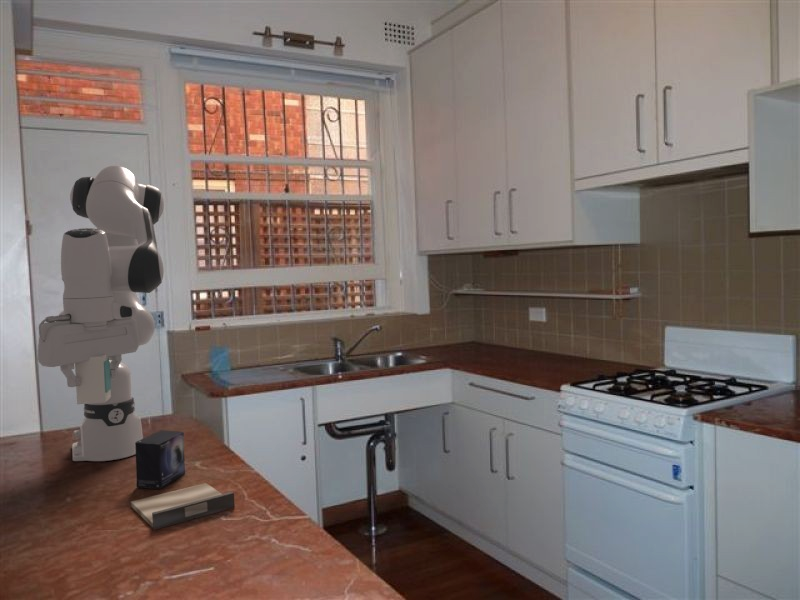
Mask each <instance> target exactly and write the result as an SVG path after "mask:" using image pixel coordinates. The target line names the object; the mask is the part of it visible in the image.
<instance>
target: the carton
mask: <svg viewBox="0 0 800 600" xmlns="http://www.w3.org/2000/svg"><path fill="white" fill-rule="evenodd" d="M74 372H75V373H74V374H75V376H76V377H80V381H79V382H80V386H76V388H75V389H76V404H77V405H84V404H90V403H105V402H106V401H107V400H108V399H109V398H110V397H111V375H110V359H109V357H106V354H105V355H100V356H94V357H90V359H89V360H88V361H84V362H78V363H74Z"/></svg>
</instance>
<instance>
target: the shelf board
mask: <svg viewBox="0 0 800 600" xmlns="http://www.w3.org/2000/svg"><path fill="white" fill-rule="evenodd" d="M130 507H131V508H132V510H134V511H135V512H136V513H137V514H138V515H139V516H140V517H141V518H142V519H143V520H144V521H145V522H146V523H147V524H148V525H149V526H150V527H151V528H152V530H159V529H162V528H166V527H169V526H173V525H177V524H181V523H184V522H188V521H191V520H194V518H195V519H198V518H201V517H205V516H208V515H211V514H216V513H219V511H220V512H223V511H227V510H230V509H234V508H235V492H233V491H229V492H225V493H221V492H220V491H218V490H217V489H216V488H214V487H213V486H211V485H210V484H208V483H207V482H204V483H200V484H196V485H192V486H189V487H184V488H180V489H179V488H178V489H177V490H172V491H167V492H164V493H160V494H156V495H152V496H148V497H144V498H140V499H135V500H132V501H130ZM187 520H188V521H187Z"/></svg>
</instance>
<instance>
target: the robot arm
mask: <svg viewBox="0 0 800 600" xmlns="http://www.w3.org/2000/svg"><path fill="white" fill-rule="evenodd" d="M69 197H70V198H69V200H70V203H71V207H72V210H73V212H74V213H75V214H76V215H77V216H79V217H82V218H84V219H89V221H90V222H91V223H92V225H93V226H94V227H95V228H92V227H91V228H78V229H76V228H75V229H70V230H68V231H66V232H64V233H63V235H62V240H61V251H60V271H61V272H60V273H61V280H62V282H63V286H64V288H63V294H62V305H63V310H62V311H61V312H60V313H59V314H58V315H55V316H54V315H52V316H50V315H48V316H46V317H45V319H43V320H41V322H40V323H39V324H38V335H39V336H38V346H37V347H38V348H37V360H38V361H37V362H38V363H39V364H40V365H41V366H42V367H46V368H47V367H48V368H56V367H60V371H61V372H62V374H63V375H64V376H65V378H66V383H67V387H68V388H75V387H76V386H80V382H79V381H80V377H76V374H75V373H74V370H75V363H78V362H84V361H88V360H89V359H90V357H94V356H100V355H105V354H106V357H109V359H110V375H111V397H110V398H109V399H108V400H107V401H106V402H105V403H90V404H83V416H84V418H83V420H82V421H81V424H80V429H76V430H73V440H79V439H80V441H76V442H73V443H72V446H71V454H72V455H71V456H72V461H73V462H85V461H88V462H106V461H113V460H120V459H124V458H128V457H131V456H134V455H136V449H135V442H137V441H139V440H141V439H143V438H144V435H143V428H142V427H143V426H142V421H141V420H142V419H141V417H139V415H137V414H136V413H135V410H136V408H135V405H136V404H135V400H134V399H135V398H134V397H133V393H132V392H133V391H132V376H131V375H132V374H131V373H132V372H131V369H130V368H129V367H128V365H127V364H125V363H124V362H122V355H126V354H132V353H136V352H137V350H138V348H139V347H140V346H144V345H147V344H148V343H149V342H150V341H151V339H152V337H153V336H154V333H155V330H156V329H155V328H156V326H155V325H156V323H155V322H156V321H155V319H154V317H153V315H152V313H151V312H150V311H149V310H148V309H147V308H146V307H145V306H144V305H143V304H142V303H141V301H140V300H139V297H138V295H137V293H141V294H142V293H143V294H150V293H152V292H153V291H154V290H156V289H157V288H159V286H160V285H161V284H162V283H163V279H164V272H165V271H164V263H163V260H162V257H161V254H160V253H159V250H158V243H157V237H156V233H155V226H154V225H156V224H157V223H158V222H159V221H160V218H161V217H162V215H163V213H164V209H165V201H164V198H163V195H162V191H161V190H160V189H159V188H157V187H156V186H154V185H150V184H143V183H138V180H137V178H136V176H135V175H134V173H133V172H132V171H131V170H129V169H127V168H126V167H124V166H121V165H120V166H119V165H110V166H107V167H105V168H103V169H101V170H100V171H99V173H98V174H97V175H96V176H95V177H93V176H85V177H80V178H78V179H77V180H75V182H74V184H73V186H72V187H71V190H70V195H69Z"/></svg>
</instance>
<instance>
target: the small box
mask: <svg viewBox="0 0 800 600" xmlns="http://www.w3.org/2000/svg"><path fill="white" fill-rule="evenodd" d="M184 433H185V432H184V431H178V430H177V431H175V430H164V429H160V430H159V431H156V432H154V433H152V434H151V435H148V436H146V437H143V439H141V440H139V441H137V442H135V449H136V454H135V471H136V474H135V475H136V488H139V489H141V488H142V489H154V490H162V489H163V488H165V487H166V486H168V485H169V484H172V483H173V482H174V481H176V480H177V479H179V478H181V477H182V476H184V475H185V474H186V464H185V435H184Z"/></svg>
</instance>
